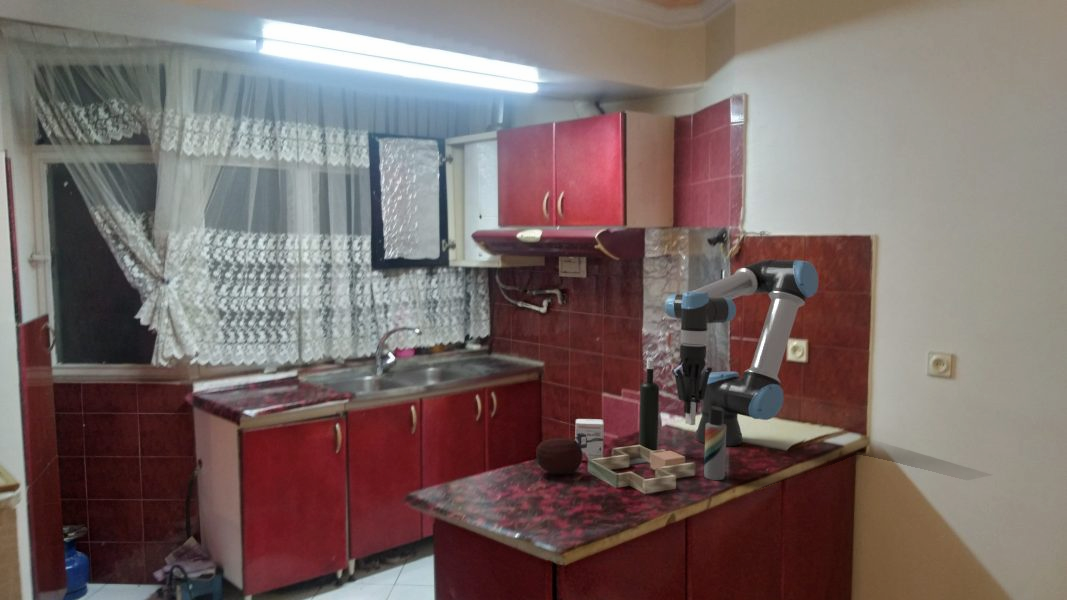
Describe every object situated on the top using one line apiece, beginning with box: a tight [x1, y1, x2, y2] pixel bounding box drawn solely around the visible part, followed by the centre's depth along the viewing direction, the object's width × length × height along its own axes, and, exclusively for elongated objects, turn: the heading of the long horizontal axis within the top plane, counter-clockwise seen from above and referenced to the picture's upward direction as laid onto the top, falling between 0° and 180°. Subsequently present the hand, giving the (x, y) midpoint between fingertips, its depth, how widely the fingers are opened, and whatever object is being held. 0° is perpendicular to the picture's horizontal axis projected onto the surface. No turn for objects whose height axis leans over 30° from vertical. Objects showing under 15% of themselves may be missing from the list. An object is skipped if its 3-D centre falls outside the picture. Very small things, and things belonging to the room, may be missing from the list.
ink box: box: [574, 418, 605, 462], centre depth 218 cm, size 8×5×12 cm, turn 86°
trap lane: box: [587, 444, 696, 495], centre depth 205 cm, size 26×29×4 cm
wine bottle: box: [638, 357, 660, 451], centre depth 225 cm, size 6×6×30 cm
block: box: [650, 450, 686, 470], centre depth 209 cm, size 7×7×4 cm
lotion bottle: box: [703, 406, 727, 481], centre depth 202 cm, size 6×6×20 cm
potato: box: [535, 437, 583, 476], centre depth 203 cm, size 11×13×10 cm
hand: (690, 423), depth 211 cm, fingers closed
